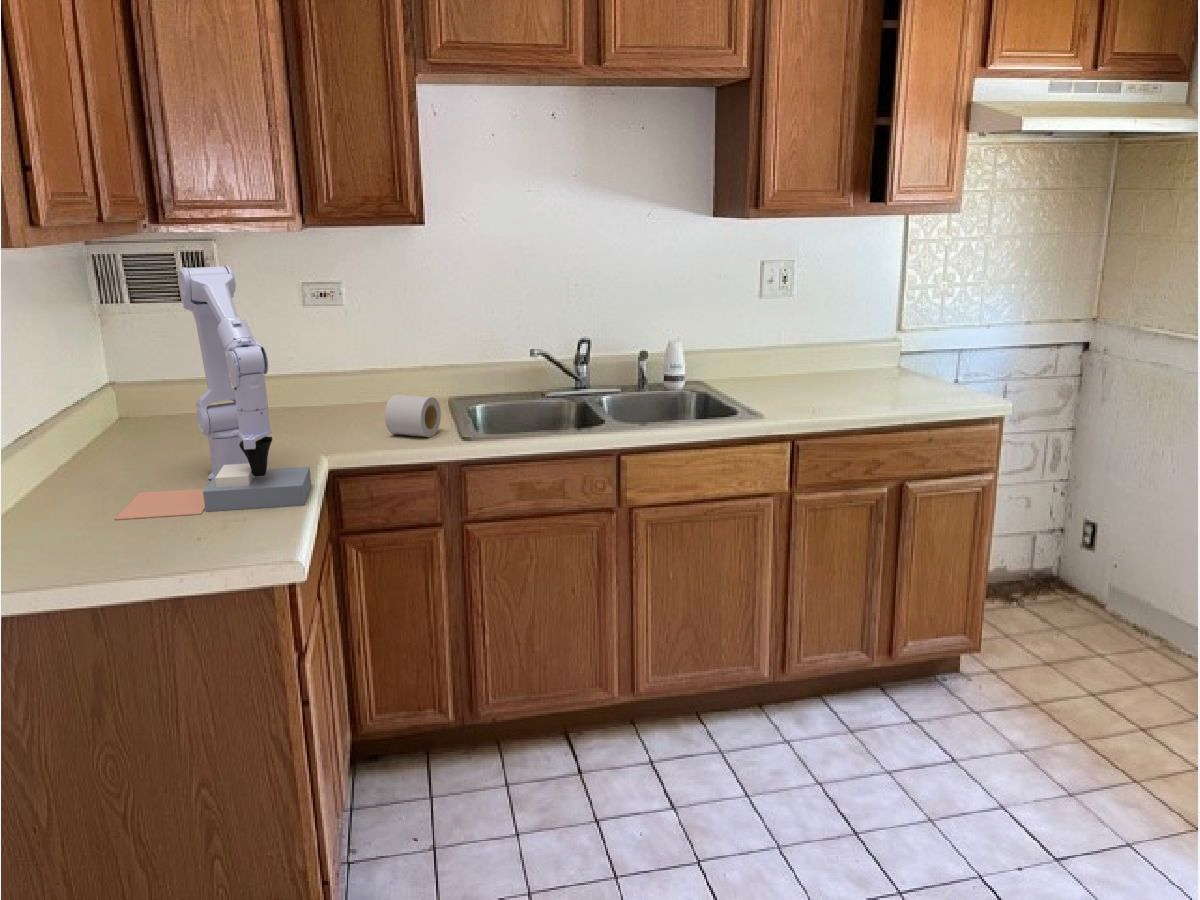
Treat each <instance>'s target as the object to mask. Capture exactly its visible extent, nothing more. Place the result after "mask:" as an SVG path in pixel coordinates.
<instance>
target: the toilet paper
mask: <svg viewBox="0 0 1200 900" xmlns="http://www.w3.org/2000/svg"><path fill="white" fill-rule="evenodd" d="M439 403H440V402H439V401H438V400H437V399H436V397H434V396H433V397H432V396H424V395H423V396H420V395H406V394H394V395H392V396H390V398H389V399H388V401H387V403H386V406H385V410H384V421H385V426H386V428H387V429H386V430H388V432H389V433H390V434H392V435H400V436H411V437H413V436H414V437H424V438H432V437H434V436H435V435H436V434H437V432H438V430H439V428H440V424H441V417H442V416H441V415H442V413H441V407H440V404H439ZM433 435H434V436H433ZM431 436H432V437H431Z"/></svg>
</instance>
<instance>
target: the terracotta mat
mask: <svg viewBox="0 0 1200 900" xmlns="http://www.w3.org/2000/svg"><path fill="white" fill-rule="evenodd" d="M204 490H205V488H194V489H180V490H161V491H147V492H146V491H143V492H139V493H138V494H137V495H135V497H134V498H133V500H131V502H130V503H128V505H126V507H125V508H124V509H122V511H121V512H119V514H118V515H117V516H116V517H115V519H114V521H120V520H121V521H122V520H123V521H124V520H135V519H136V520H137V519H152V518H166V517H169V518H170V517H181V516H182V517H183V516H196V515H202V514H203V512H204V511H205V504H204V496H203V491H204Z"/></svg>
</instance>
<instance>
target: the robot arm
mask: <svg viewBox="0 0 1200 900" xmlns="http://www.w3.org/2000/svg"><path fill="white" fill-rule="evenodd" d="M235 277H236V276H235V274H234V271H233V269H232V268H231V267H230V265H223V266H204V267H203V266H202V267H181V268H180V270H179V271H178V277H177V278H178V279H177V281H178V282H177V283H178V287H179V288H178V289H179V292H180V298H181V303H182V304H183V305H182V306H183V309H184V310H188V311H190V312H192V315H193V319H194V321H195V325H196V331H197V336H198V340H199V341H198V343H199V347H200V352H201V358H202V364H203V369H204V376H205V380H206V387H207V390H206V391H204V392H203V394H201V396H199V397H198V398H197V400H196V403H195V407H196V423H197V425H198V429H199V431H200V433H201V434H203V436H205V437H206V436H207V438H208V445H209V446H208V447H209V455H210V462H211V463H210V464H211V470H212V471H211V472H210V474H209V475H208V476H207V480H212V479H213V477H214V476H215V474H216V473H217V472H219V471H220V470H221V469H222V467H223V466H224V465H231V464H248V463H249V464H250V467H251V470H252V473H253V475H254V476H265V474H266V470H267V469H268V457H269V451H270V447H271V444H272V442H273V436H269V435H271V434H272V433H273V431H272V430H273V429H272V427H271V422H270V413H269V403H268V394H267V384H266V377H265V375H267V374H268V371H269V360H268V354H267V352H266V350H265V349H266V348H265V346H264V345H263V344H261V343H260V342H259V341H255V338H254V336H253V335H252V332H251V329H250V327H249V326H248V323H247V321H246V320H245V319H243V318H241V317H238V316H239V315H238V313H237V311H236V308H235V305H234V301H233V298H234V295H235V292H236V288H237V286H236V285H237V284H236V278H235ZM225 401H226V402H225ZM227 401H228V402H227ZM229 401H232V402H229ZM218 402H225V403H219V404H213V403H218ZM210 404H212V405H210Z"/></svg>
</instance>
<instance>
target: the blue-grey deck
mask: <svg viewBox="0 0 1200 900" xmlns="http://www.w3.org/2000/svg"><path fill="white" fill-rule="evenodd" d="M310 468H311V467H310V466H299V467H298V466H297V467H281V468H278V467H277V468H267V470H266V474H265V476H254V478H253V480H252V482H251V484H250V485H249V486H238V487H222V488H216V482H215V477H216V476H217V474H218V473H219V472H217V473H216V474H215V476H214V477H213V479H210V481H209V483H208V484H207V485H206V487H205V488H204V489H205V490H204V491H203V496H204V504H205V509H204V511H205V512H206V513H207V512H218V511H219V512H220V511H235V510H251V509H264V508H280V507H294V506H295V507H296V506H305V503H306V500H307V498H308V495H309V493H310V490H311V488H312V479H311V478H312V477H311V476H312V475H311V469H310Z"/></svg>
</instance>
